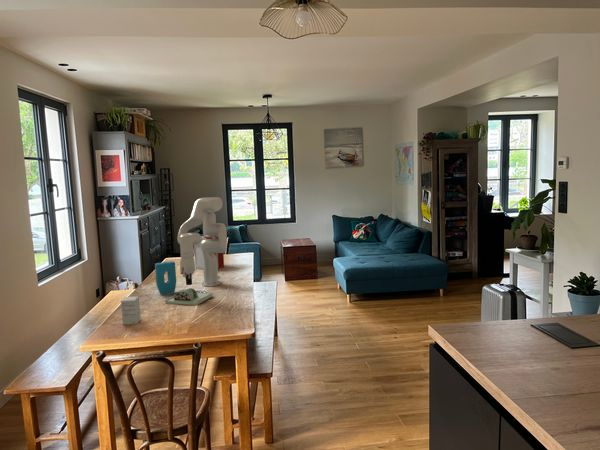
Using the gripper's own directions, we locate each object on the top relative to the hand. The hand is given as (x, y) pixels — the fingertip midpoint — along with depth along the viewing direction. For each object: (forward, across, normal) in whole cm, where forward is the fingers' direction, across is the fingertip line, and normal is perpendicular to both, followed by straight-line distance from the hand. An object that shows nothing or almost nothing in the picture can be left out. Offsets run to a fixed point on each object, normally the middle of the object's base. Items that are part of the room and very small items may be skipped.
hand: (189, 284), depth 268 cm
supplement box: (+9, +44, -8) cm, 46 cm away
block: (+9, -10, -23) cm, 27 cm away
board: (+9, +1, 0) cm, 9 cm away
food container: (+4, -2, 0) cm, 5 cm away
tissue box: (+9, -87, -34) cm, 94 cm away
